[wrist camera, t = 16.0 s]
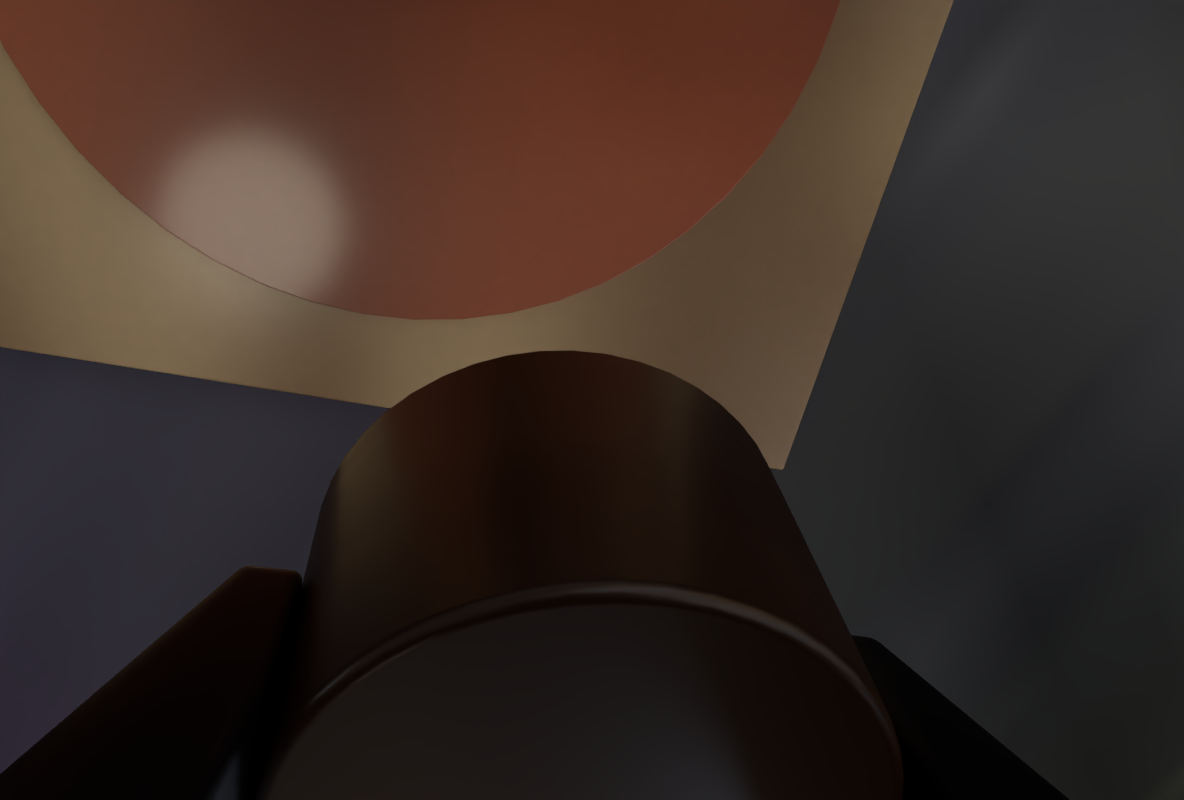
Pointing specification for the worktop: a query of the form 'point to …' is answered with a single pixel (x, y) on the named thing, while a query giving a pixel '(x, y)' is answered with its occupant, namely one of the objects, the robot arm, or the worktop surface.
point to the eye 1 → (568, 608)
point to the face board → (449, 186)
